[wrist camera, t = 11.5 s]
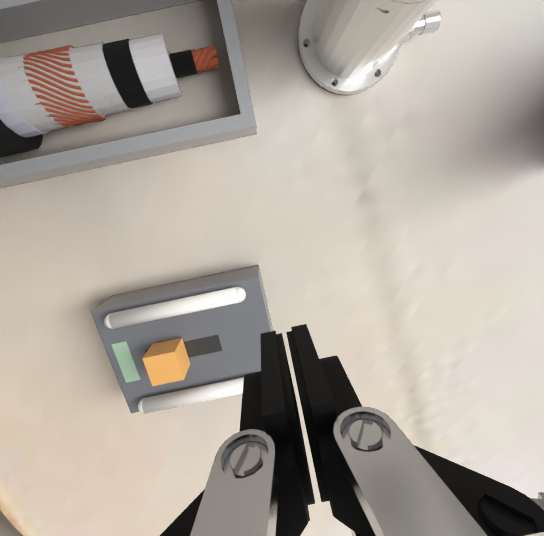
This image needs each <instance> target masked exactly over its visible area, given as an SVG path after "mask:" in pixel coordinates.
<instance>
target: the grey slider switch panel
mask: <svg viewBox="0 0 544 536" xmlns="http://www.w3.org/2000/svg"><path fill="white" fill-rule="evenodd" d="M234 287H241V288H243V289H244V290H245V293H246V297H245V299H244V300H243V301H242V302H240V303H235V304H230V305H225V306H221V307H216V308H211V309H206V310H201V311H196V312H192V313H187V314H182V315H177V316H172V317H168V318H163V319H158V320H153V321H148V322H144V323H139V324H134V325H129V326H124V327H120V328H115V329H111V328H108V327H107V326H106V325H105V323H104V320H105V317H106V316H107V315H108V314H110V313H114V312H118V311H123V310H128V309H133V308H138V307H142V306H147V305H152V304H157V303H162V302H166V301H171V300H176V299H181V298H186V297H190V296H195V295H200V294H205V293H210V292H214V291H219V290H224V289H229V288H234ZM91 314H92V316H93V319H94V321H95V324H96V326H97V329H98V331H99V334H100V336H101V339H102V341H103V344H104V347H105V349H106V352H107V354H108V357H109V359H110V362H111V364H112V367H113V369H114V372H115V374H116V377H117V379H118V382H119V384H120V387H121V389H122V392H123V394H124V397H125V399H126V402H127V404H128V407H129V409H130V412H131V413H135V412H139V410H138V403H139V402H140V400H142V399H143V398H146V397H151V396H156V395H161V394H165V393H170V392H175V391H180V390H185V389H190V388H195V387H199V386H204V385H209V384H214V383H219V382H224V381H228V380H233V379H238V378H243V377H244V375H245V374H249V373H254V372H259V371H261V338H260V334H261V333H266V332H270V331H273V328H272V324H271V319H270V315H269V310H268V306H267V301H266V297H265V292H264V288H263V283H262V279H261V274H260V270H259V265H256V266H252V267H247V268H242V269H237V270H232V271H228V272H223V273H218V274H213V275H208V276H204V277H199V278H194V279H189V280H184V281H180V282H175V283H170V284H165V285H161V286H156V287H151V288H146V289H141V290H137V291H132V292H127V293H122V294H117V295H113V296H112V297H110V298H109V299H108V300H106V301H105V302H103V303H102V304H100V305H99V306H98V307H96V308H95V309H93V310H92V311H91ZM178 338H182V339H183V342H184V345H185V348H186V351H187V355H188V358H189V361H190V366H189V368H188V371H187V373H186V376H185V378H184V380H181V381H176V382H171V383H166V384H161V385H156V386H152V384H151V381H150V378H149V376H148V373H147V370H146V367H145V365H144V362H143V359H142V358H143V357H144V355H145V354H146V352H147V351H148V350H149V348H150V347H151V345H152V344H154V343H158V342H163V341H168V340H173V339H178Z"/></svg>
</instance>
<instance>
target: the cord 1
mask: <svg viewBox="0 0 544 536" xmlns="http://www.w3.org/2000/svg"><path fill="white" fill-rule="evenodd" d="M245 297H246V293H245V290H244V289H243V288H241V287H234V288H229V289H224V290H219V291H214V292H210V293H205V294H200V295H195V296H190V297H186V298H181V299H176V300H171V301H166V302H162V303H157V304H152V305H147V306H142V307H138V308H133V309H128V310H123V311H118V312H114V313H110V314H108V315H107V316H106V317H105V320H104V323H105V325H106V326H107V327H108V328H111V329H115V328H120V327H124V326H129V325H134V324H139V323H144V322H148V321H153V320H158V319H163V318H168V317H172V316H177V315H182V314H187V313H192V312H196V311H201V310H206V309H211V308H216V307H221V306H225V305H230V304H235V303H240V302H242V301H243V300H244V299H245Z"/></svg>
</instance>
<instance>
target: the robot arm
mask: <svg viewBox="0 0 544 536" xmlns="http://www.w3.org/2000/svg"><path fill="white" fill-rule="evenodd" d="M436 1H437V0H308V1H307V3H306V5H305V7H304V9H303V13H302V16H301V20H300V25H299V34H298V42H299V51H300V55H301V58H302V62H303V64H304V66H305V68H306V70H307V72H308V73H309V74H310V76H311V77H312V78H313V80H314V81H316V82H317V83H318V84H319V85H320V86H321V87H323V88H325V89H326V90H328V91H331V92H334V93H336V94H344V95H348V94H356V93H359V92H362V91H365V90H367V89H369V88H370V87H372V86H374V85H375V84H376V83H377V82H378V81H380V80H381V79H382V78H383V77H384V75H385V74H386V73H387V72H388V71H389V69H390V68H391V66H392V65H393V63H394V61H395V59H396V57H397V55H398V52H399V48H400V45H401V43H402V42H403V41H408V40H410V38H411V37H412V36H413V35H417V34H419V35H422V34H427V33H432V32H435V31H436V30H437V29H438V27H439V25H440V21H441V14H440V11H438V10H437V11H432V12H427V11H428V10H429V9H430V7H431V6H432V5H433V4H434V3H435V2H436ZM426 12H427V13H426ZM304 45H307V47H304ZM375 74H376V75H377V77H376V76H375ZM331 83H334V84H335V86H332V84H331ZM291 328H292V331H290V332H287V337H288V342H289V347H290V352H291V357H292V362H293V367H294V372H295V376H296V381H297V386H298V391H299V396H300V401H301V406H302V411H303V415H304V420H305V425H306V430H307V435H308V439H309V444H310V449H311V454H312V458H313V463H314V468H315V473H316V478H317V482H318V487H319V492H320V497H321V501H322V502H325V501H330V505H331V509H332V514H333V516H334V517H335V518H336V519H338V520H339V521H340V522H342V523H343V524H345V525H346V526H347V527H349V528H350V529H351V532H352V536H544V493H541V492H539V493H538V499H532V498H529V497H527V496H526V495H524V494H523V493H521V492H519V491H517V490H515V489H513V488H512V487H509V486H507V485H505V484H503V483H500V482H498V481H496V480H493V479H491V478H489V477H486V476H484V475H482V474H479V473H477V472H475V471H472V470H470V469H468V468H465V467H463V466H461V465H459V464H456V463H454V462H452V461H449V460H447V459H445V458H442V457H440V456H438V455H435V454H433V453H431V452H428V451H426V450H424V449H421V448H419V447H417V446H414V445H413V444H412V443H411V442H410V440H409V439H408V438H407V437H406V436H405V434H404V433H403V432H402V431H401V429H400V428H399V427H398V426H397V425H396V423H395V422H394V421H393V420H392V419H391V418H390V417H389V416H388V415H387V414H385V413H383V412H381V411H380V410H378V409H374V408H370V407H362V405H361V403H360V401H359V399H358V397H357V395H356V393H355V391H354V389H353V387H352V385H351V383H350V381H349V379H348V377H347V375H346V373H345V371H344V368H343V366H342V364H341V362H340V360H339V358H338V357H337V356H332V357H327V358H322V359H319V358H318V355H317V352H316V350H315V347H314V344H313V342H312V339H311V336H310V333H309V331H308V328H307V325H306V324H304V325H299V326H295V327H291ZM260 338H261V371H259V372H254V373H249V374H245V375H244V382H243V395H242V408H241V421H240V432H238V433H236V434H234V435H232V436H231V437H230V438H228V439H227V440H226V441H225V442H224V443H223V444H222V445H221V447H220V448H219V450H218V452H217V454H216V456H215V459H214V462H213V465H212V468H211V472H210V475H209V478H208V481H207V484H206V487H205V489H204V490H203V491H202V492H201V494H200V495H199V496H198V497H197V498H196V499H195V500H194V501H193V502H192V503H191V504H190V505H189V506H188V507H187V508H186V509H185V510H184V511H183V512H182V513H181V514H180V515H179V516H178V517H177V518H176V519H175V520H174V522H173V523H172V524H171V525H170V526H169V527H168V528H167V529H166V530H165V531H164V532H163V533H162V534H161V535H160V536H300V535H301V533H302V532H303V530H304V528H305V527H306V525H307V524H308V521H310V518H309V511H308V505H310V504H315V500H314V494H313V489H312V483H311V478H310V473H309V467H308V462H307V456H306V451H305V445H304V440H303V435H302V429H301V424H300V418H299V413H298V407H297V402H296V397H295V393H294V388H293V383H292V379H291V374H290V369H289V365H288V360H287V355H286V351H285V346H284V341H283V337H282V333H280V334H276V331H270V332H266V333H261V334H260Z"/></svg>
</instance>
